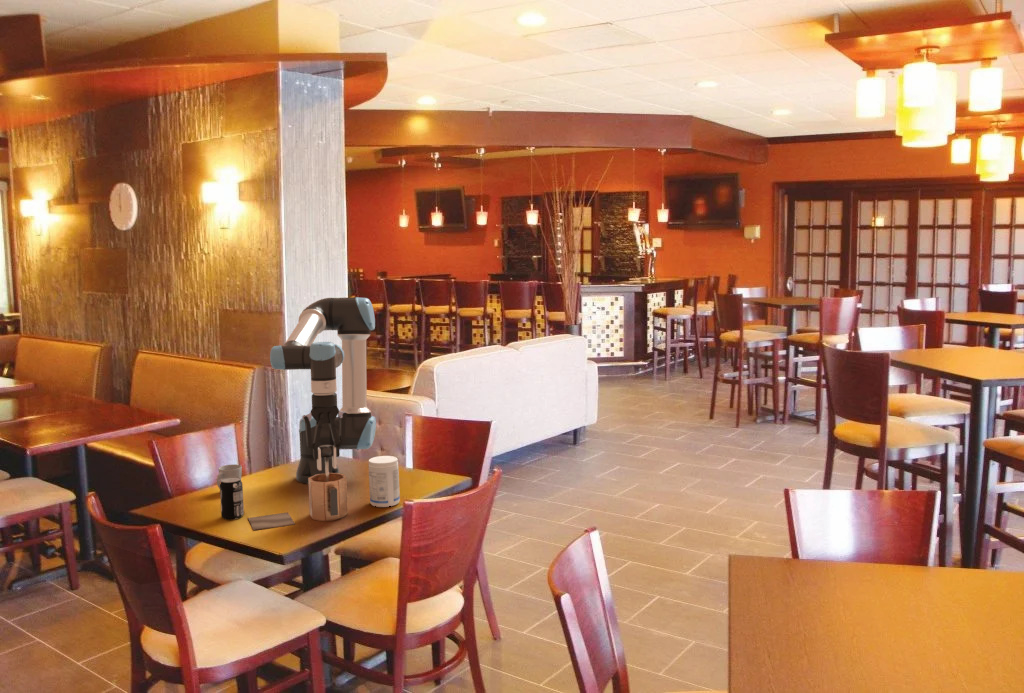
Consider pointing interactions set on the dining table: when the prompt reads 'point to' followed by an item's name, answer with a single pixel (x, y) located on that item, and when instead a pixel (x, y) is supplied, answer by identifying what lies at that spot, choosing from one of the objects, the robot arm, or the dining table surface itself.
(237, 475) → the cup
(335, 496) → the press carafe
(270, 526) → the gray-brown square tile
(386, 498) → the supplement tub
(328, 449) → the plunger
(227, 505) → the beverage can
